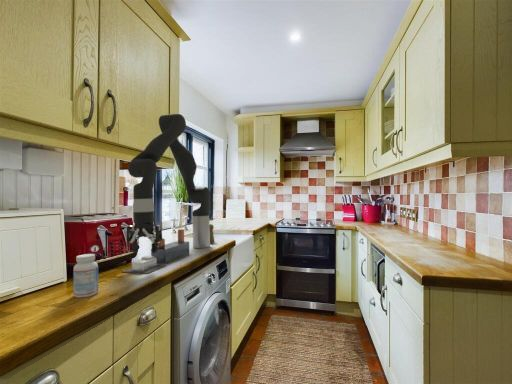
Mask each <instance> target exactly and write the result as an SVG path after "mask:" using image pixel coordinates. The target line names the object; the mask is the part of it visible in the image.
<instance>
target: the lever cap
mask: <svg viewBox="0 0 512 384" xmlns="http://www.w3.org/2000/svg"><path fill="white" fill-rule="evenodd" d="M157 265H158V264H157V258H154V256H151V255H144V256H142V257H140V259H137V260H135V261H132V262H131V268H132V271H146V270H148V269H150V268H153V267H155V266H157Z"/></svg>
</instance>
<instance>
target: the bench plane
mask: <svg viewBox="0 0 512 384" xmlns="http://www.w3.org/2000/svg"><path fill="white" fill-rule="evenodd" d="M165 240H166V239H165V238H163V237H162V240H161V241H159V242H158V250H157V252H156V253H152V248H151V249H150V256H154V258H157V265H167V264H169V263H171V262H173V261H176V260H178V259H181V258H183V257H185V256H187V255H190V241H187V240H186V241H185V229H184V228H183V229H182V228H181V229H180V228H179V229H177V240H176V241H173V242H170V243H167V244H166V241H165Z"/></svg>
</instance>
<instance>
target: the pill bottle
mask: <svg viewBox="0 0 512 384" xmlns="http://www.w3.org/2000/svg"><path fill="white" fill-rule="evenodd" d="M75 260H76V264H75V265H74V266H73V271H72V272H73V273H72V275H73V277H72V278H73V296H74V297H75V298H76V299H77V298H78V299H79V298H80V299H81V298H82V299H83V298H89V297H92V296H95V295H96V294H98V293H99V290H100V289H99V265H98V263H97V262H96V261H95V260H96V254H95V253H84V254H81V255H76V257H75Z"/></svg>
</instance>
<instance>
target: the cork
mask: <svg viewBox="0 0 512 384" xmlns="http://www.w3.org/2000/svg"><path fill="white" fill-rule="evenodd" d="M209 227H210V244H214V243H215V236H214V225H213V224H210V223H209ZM213 242H214V243H213Z"/></svg>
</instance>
